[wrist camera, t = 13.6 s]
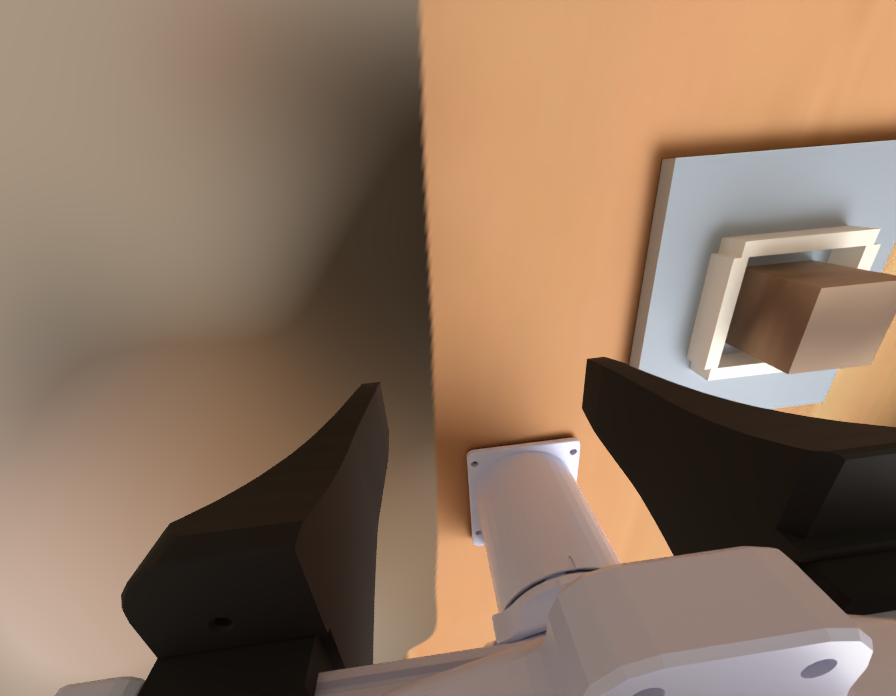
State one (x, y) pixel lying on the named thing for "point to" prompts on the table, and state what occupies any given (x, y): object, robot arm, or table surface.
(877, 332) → the brown cube
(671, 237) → the base plate
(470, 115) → the table surface
